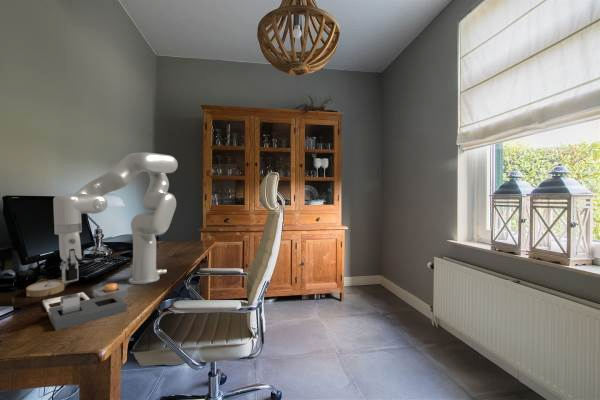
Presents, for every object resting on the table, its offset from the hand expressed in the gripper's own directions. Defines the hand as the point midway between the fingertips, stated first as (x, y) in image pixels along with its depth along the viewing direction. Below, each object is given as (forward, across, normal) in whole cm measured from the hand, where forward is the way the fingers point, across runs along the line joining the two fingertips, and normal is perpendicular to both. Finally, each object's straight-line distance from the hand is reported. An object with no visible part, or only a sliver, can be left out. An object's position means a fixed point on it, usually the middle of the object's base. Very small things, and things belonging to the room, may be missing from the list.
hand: (70, 277), depth 99 cm
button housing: (+10, -4, -11) cm, 15 cm away
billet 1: (+1, 0, 0) cm, 1 cm away
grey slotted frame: (+9, -18, -2) cm, 20 cm away
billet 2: (+8, -18, +3) cm, 20 cm away
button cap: (+7, -4, -11) cm, 14 cm away
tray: (+9, 0, +1) cm, 9 cm away
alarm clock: (+10, +22, +4) cm, 24 cm away
